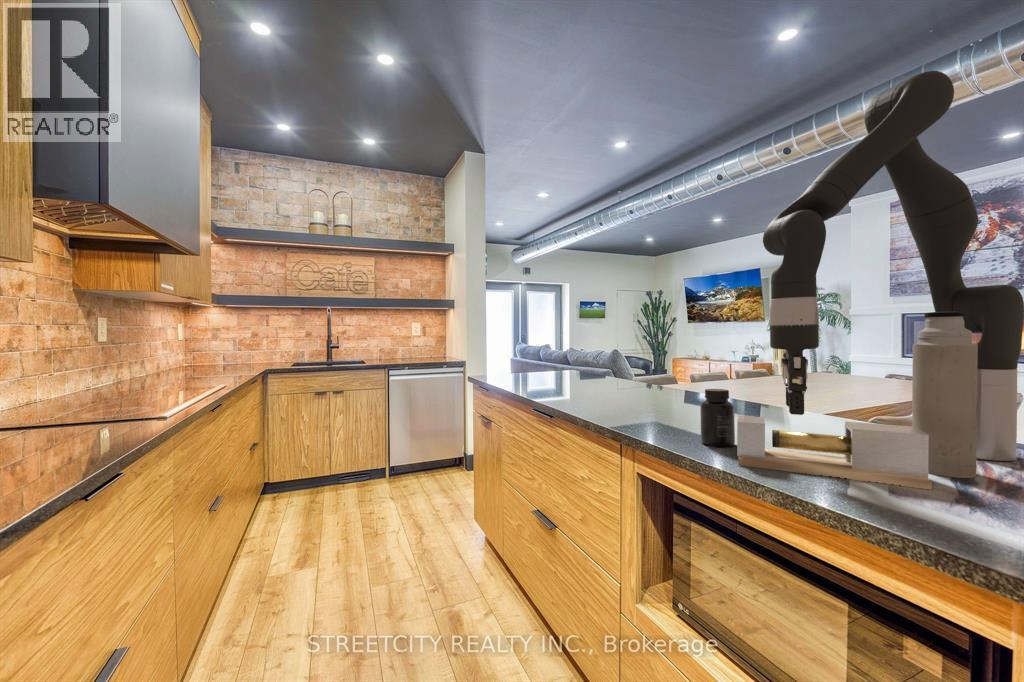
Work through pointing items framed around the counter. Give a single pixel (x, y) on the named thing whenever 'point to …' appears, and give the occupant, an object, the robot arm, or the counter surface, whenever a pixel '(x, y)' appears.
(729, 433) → the supplement bottle
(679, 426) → the counter surface
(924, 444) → the sleeve socket
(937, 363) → the thermos bottle
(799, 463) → the base board
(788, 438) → the tube
